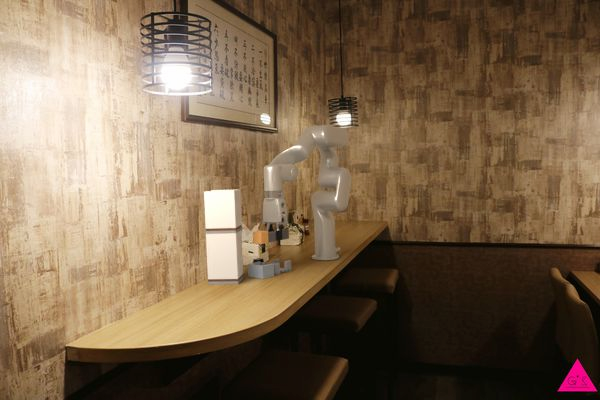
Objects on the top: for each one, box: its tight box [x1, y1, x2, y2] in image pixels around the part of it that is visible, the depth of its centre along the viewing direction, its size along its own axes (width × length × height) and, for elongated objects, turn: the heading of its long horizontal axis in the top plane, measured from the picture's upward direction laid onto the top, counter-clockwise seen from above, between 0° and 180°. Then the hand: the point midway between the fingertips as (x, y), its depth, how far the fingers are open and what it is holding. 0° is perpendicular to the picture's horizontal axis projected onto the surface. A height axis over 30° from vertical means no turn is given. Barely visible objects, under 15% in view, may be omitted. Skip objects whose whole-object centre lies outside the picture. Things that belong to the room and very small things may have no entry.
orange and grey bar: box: [252, 229, 290, 245], centre depth 208 cm, size 17×5×5 cm, turn 140°
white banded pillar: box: [203, 188, 245, 286], centre depth 196 cm, size 11×11×35 cm
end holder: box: [247, 262, 275, 280], centre depth 204 cm, size 6×8×5 cm
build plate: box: [252, 257, 265, 263], centre depth 221 cm, size 12×7×5 cm, turn 150°
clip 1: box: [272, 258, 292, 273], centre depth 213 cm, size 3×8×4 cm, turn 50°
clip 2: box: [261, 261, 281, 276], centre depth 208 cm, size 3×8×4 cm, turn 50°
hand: (275, 239), depth 210 cm, fingers closed on orange and grey bar, 3 cm apart
